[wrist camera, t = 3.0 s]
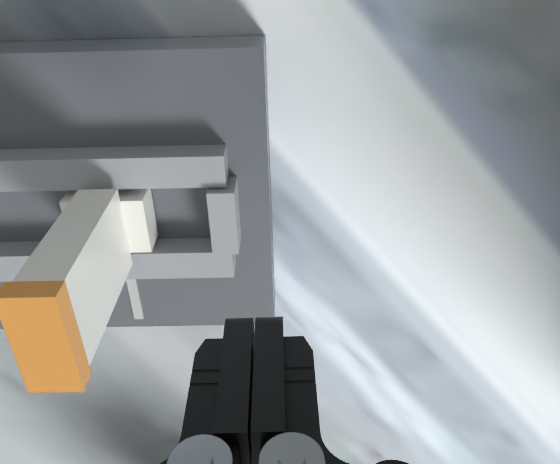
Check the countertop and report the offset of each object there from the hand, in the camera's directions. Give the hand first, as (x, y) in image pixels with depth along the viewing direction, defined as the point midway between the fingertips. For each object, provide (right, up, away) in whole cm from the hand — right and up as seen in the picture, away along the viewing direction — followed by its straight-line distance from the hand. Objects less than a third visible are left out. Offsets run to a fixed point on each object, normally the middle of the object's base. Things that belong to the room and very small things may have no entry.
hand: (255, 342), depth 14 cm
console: (-12, +5, +9) cm, 15 cm away
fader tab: (-6, +4, +7) cm, 10 cm away
